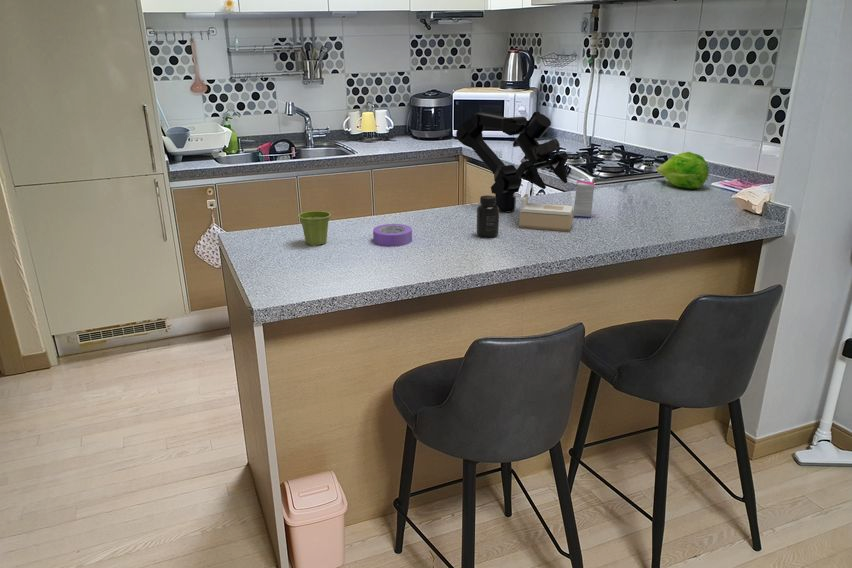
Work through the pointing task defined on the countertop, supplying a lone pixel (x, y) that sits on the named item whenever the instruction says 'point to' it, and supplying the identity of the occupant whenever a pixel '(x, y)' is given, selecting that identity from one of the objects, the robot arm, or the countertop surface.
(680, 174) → the lettuce
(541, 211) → the lid
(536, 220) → the base
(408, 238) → the masking tape
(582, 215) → the supplement box
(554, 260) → the countertop surface
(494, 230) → the supplement bottle
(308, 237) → the plant pot
